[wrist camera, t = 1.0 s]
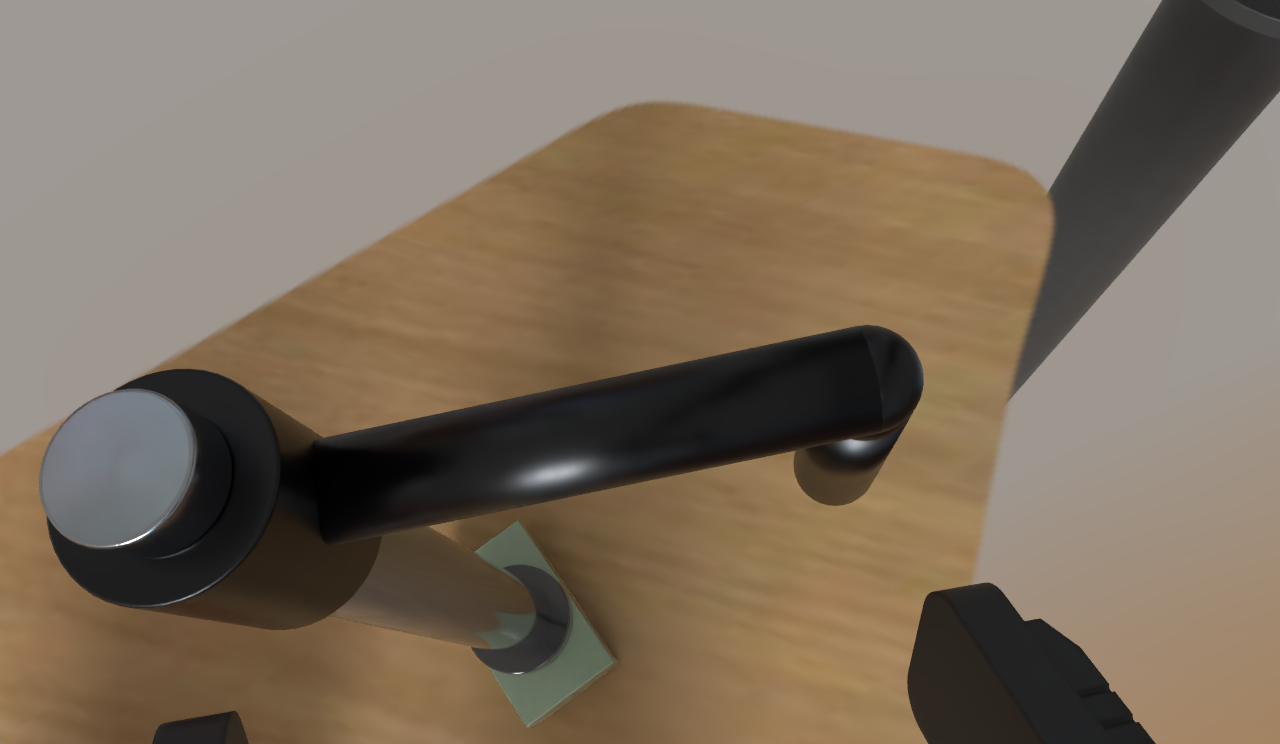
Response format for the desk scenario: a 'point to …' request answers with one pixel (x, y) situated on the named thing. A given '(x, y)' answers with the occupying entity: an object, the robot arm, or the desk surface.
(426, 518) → the spout
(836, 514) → the desk surface
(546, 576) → the faucet base
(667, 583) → the desk surface
